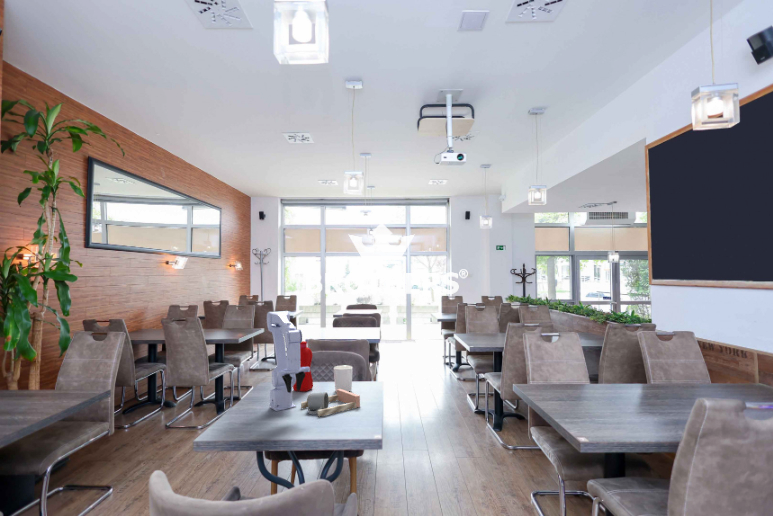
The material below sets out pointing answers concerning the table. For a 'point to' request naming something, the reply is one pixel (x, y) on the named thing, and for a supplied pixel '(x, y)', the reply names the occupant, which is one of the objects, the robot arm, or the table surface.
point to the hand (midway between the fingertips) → (293, 391)
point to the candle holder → (343, 377)
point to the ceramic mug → (317, 402)
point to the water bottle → (305, 362)
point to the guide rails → (332, 409)
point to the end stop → (348, 397)
